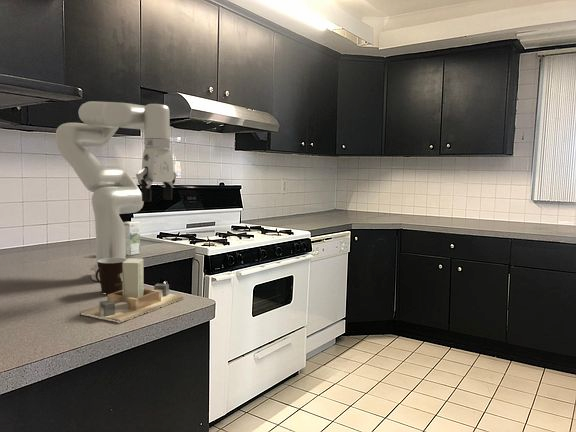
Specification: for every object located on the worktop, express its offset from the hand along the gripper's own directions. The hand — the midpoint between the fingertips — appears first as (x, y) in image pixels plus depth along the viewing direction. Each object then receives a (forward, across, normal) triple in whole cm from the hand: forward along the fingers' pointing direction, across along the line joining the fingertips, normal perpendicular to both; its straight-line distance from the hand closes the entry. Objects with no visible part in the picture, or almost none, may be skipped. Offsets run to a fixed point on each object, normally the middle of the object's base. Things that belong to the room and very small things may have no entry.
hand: (157, 200), depth 148 cm
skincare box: (+28, -18, -7) cm, 34 cm away
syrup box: (+29, +41, +50) cm, 71 cm away
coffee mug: (+28, -11, +10) cm, 32 cm away
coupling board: (+28, -18, -7) cm, 34 cm away
